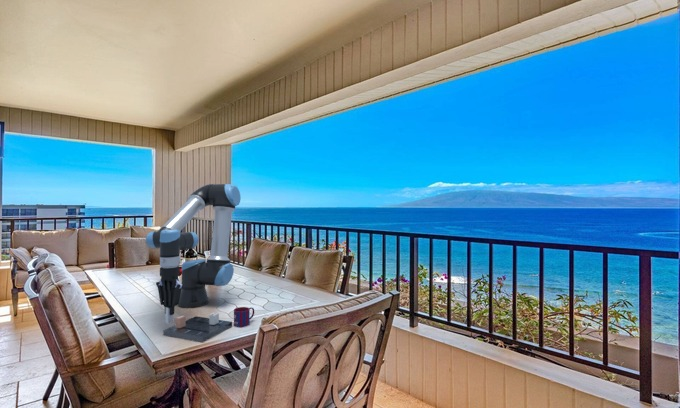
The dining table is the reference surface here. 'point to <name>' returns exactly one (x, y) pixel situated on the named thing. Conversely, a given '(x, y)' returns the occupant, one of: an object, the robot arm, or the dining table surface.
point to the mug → (242, 316)
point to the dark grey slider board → (198, 329)
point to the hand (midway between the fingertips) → (169, 322)
